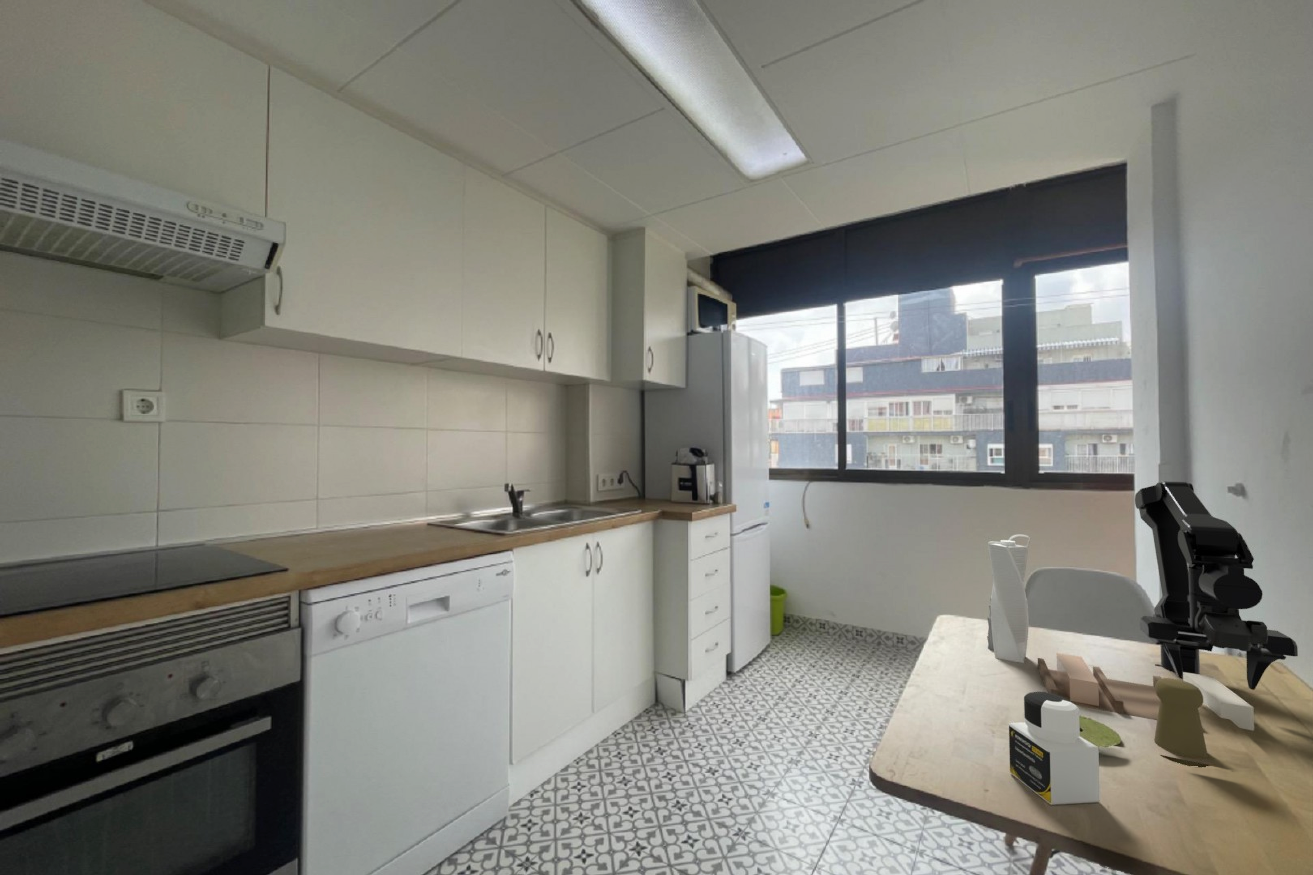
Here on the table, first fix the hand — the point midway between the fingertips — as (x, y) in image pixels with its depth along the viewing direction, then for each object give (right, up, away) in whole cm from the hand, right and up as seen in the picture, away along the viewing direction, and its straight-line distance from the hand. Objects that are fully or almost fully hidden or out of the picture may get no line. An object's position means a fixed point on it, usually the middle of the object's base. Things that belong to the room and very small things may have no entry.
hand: (1214, 683), depth 94 cm
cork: (-21, -4, -15) cm, 26 cm away
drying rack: (-16, -5, +3) cm, 17 cm away
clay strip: (0, -5, 0) cm, 5 cm away
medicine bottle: (-46, -4, -23) cm, 51 cm away
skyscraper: (-22, -6, +21) cm, 31 cm away
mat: (-33, -4, -10) cm, 35 cm away
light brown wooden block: (-20, -4, +5) cm, 21 cm away
